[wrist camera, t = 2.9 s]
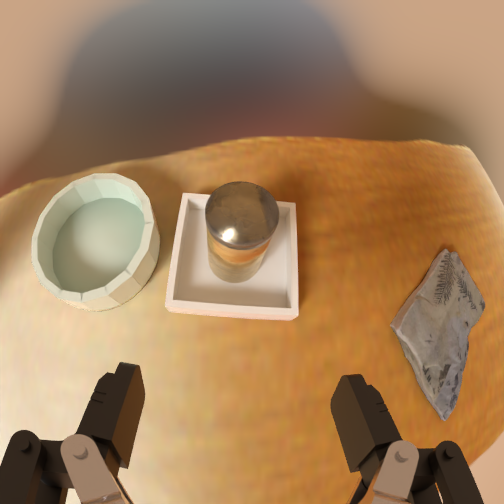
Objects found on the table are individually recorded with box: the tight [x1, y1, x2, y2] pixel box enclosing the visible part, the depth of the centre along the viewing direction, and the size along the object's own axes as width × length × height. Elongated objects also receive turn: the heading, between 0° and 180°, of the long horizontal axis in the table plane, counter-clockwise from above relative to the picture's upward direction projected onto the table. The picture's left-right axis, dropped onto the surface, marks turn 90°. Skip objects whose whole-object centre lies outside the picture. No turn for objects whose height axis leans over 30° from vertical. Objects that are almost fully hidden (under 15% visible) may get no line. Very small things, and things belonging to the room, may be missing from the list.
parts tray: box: [165, 193, 298, 320], centre depth 26 cm, size 11×11×2 cm
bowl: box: [31, 173, 160, 311], centre depth 24 cm, size 13×13×4 cm
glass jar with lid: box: [205, 182, 279, 283], centre depth 23 cm, size 5×5×8 cm
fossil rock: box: [390, 249, 485, 421], centre depth 26 cm, size 18×15×2 cm
